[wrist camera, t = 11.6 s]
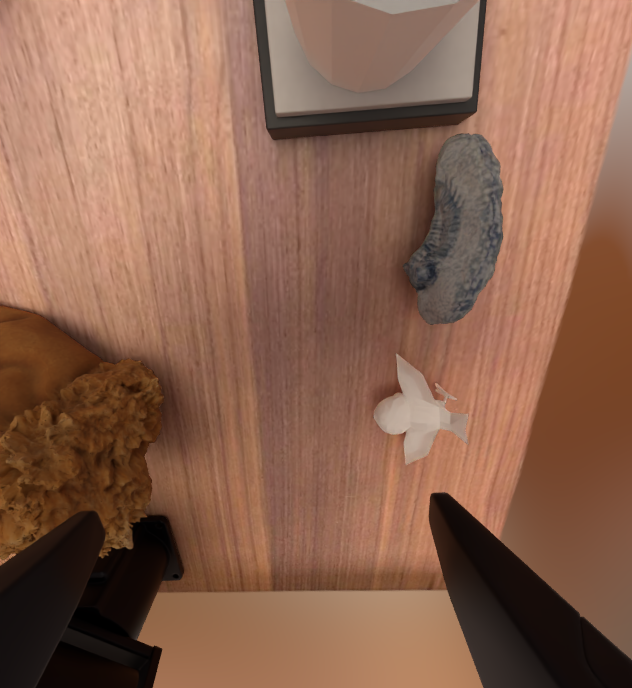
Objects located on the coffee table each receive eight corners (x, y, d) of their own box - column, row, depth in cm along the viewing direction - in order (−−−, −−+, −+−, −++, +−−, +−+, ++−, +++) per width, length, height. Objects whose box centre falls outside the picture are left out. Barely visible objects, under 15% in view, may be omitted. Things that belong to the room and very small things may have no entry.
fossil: (410, 145, 16) (448, 115, 11) (480, 148, 16) (547, 119, 11) (389, 309, 19) (413, 339, 14) (449, 311, 19) (491, 342, 14)
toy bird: (357, 353, 19) (404, 385, 15) (423, 332, 21) (484, 356, 16) (371, 461, 22) (415, 513, 18) (429, 437, 23) (482, 481, 19)
